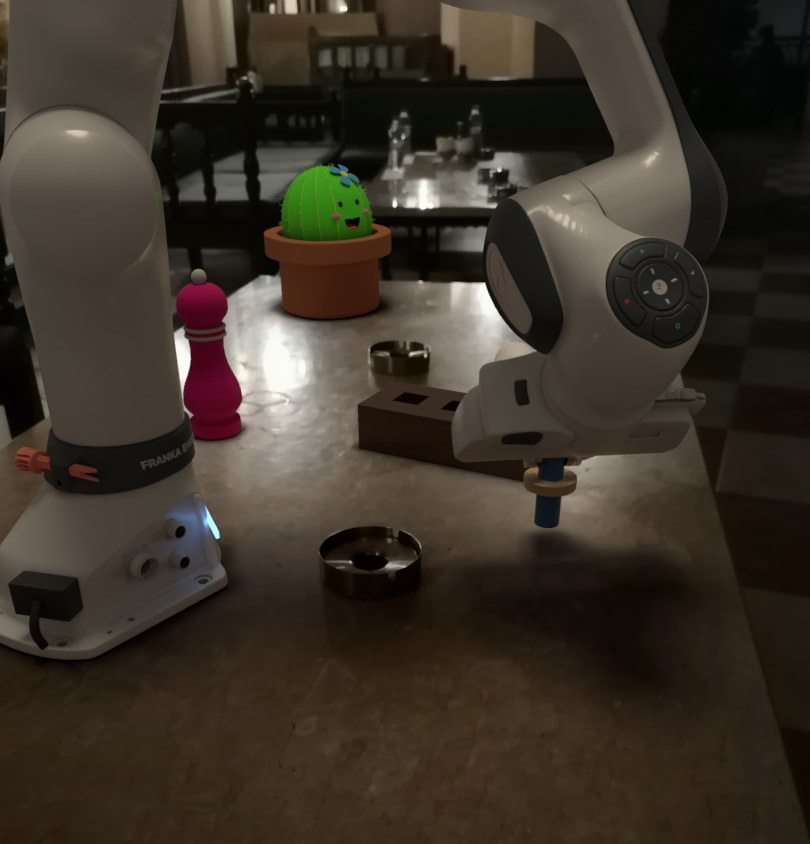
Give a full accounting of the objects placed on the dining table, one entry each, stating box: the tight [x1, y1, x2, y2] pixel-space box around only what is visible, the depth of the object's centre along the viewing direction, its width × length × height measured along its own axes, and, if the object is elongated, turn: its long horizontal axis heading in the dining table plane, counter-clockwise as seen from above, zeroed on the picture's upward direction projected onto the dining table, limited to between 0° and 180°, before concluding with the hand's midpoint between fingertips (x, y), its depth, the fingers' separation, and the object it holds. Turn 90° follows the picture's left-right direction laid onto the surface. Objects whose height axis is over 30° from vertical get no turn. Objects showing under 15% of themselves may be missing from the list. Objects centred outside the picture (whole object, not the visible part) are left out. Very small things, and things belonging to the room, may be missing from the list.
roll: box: [493, 341, 535, 362], centre depth 128 cm, size 6×12×6 cm, turn 3°
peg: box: [523, 457, 578, 529], centre depth 85 cm, size 5×5×11 cm
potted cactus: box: [263, 163, 392, 320], centre depth 161 cm, size 22×22×25 cm
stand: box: [357, 380, 530, 481], centre depth 107 cm, size 9×22×6 cm, turn 62°
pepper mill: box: [175, 268, 243, 440], centre depth 110 cm, size 7×7×20 cm
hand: (549, 459), depth 86 cm, fingers closed on peg, 2 cm apart
